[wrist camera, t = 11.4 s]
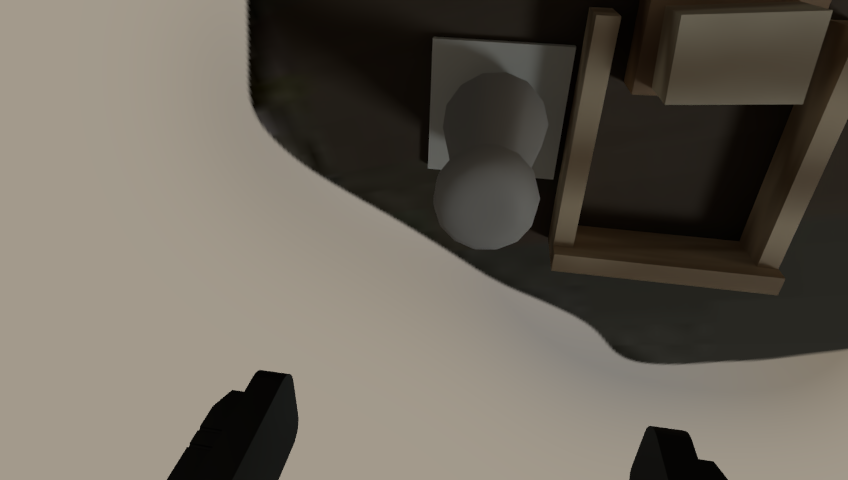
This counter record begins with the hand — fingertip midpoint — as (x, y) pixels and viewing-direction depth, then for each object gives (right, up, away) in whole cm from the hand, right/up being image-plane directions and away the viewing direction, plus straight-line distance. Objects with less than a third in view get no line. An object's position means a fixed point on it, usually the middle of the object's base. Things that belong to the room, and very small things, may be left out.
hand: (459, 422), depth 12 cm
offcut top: (+14, +14, +14) cm, 24 cm away
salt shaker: (+4, +12, +20) cm, 23 cm away
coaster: (+4, +12, +20) cm, 24 cm away
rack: (+14, +10, +19) cm, 26 cm away
